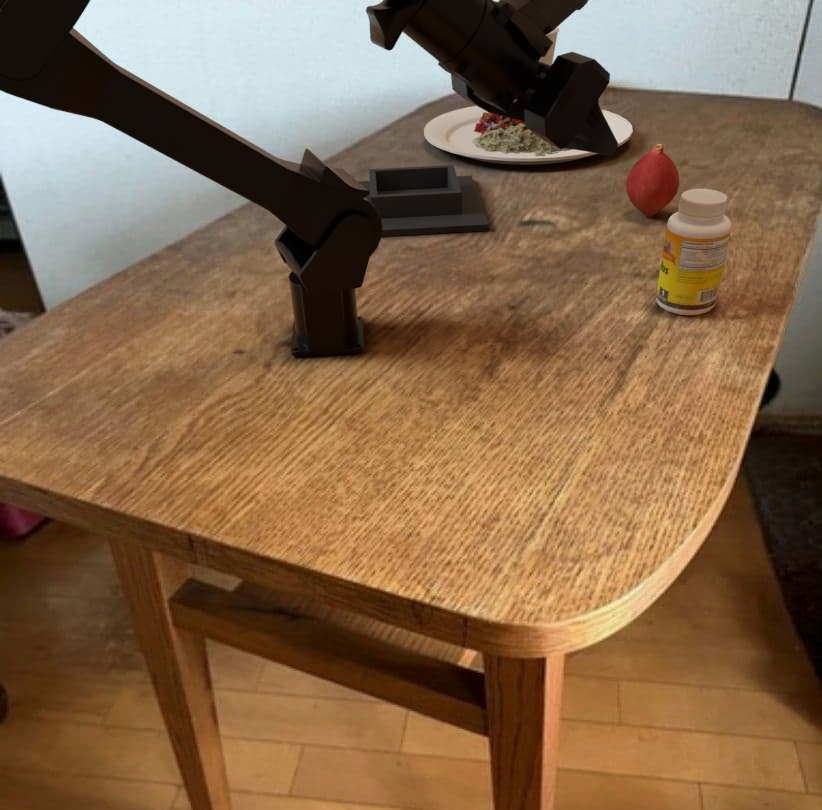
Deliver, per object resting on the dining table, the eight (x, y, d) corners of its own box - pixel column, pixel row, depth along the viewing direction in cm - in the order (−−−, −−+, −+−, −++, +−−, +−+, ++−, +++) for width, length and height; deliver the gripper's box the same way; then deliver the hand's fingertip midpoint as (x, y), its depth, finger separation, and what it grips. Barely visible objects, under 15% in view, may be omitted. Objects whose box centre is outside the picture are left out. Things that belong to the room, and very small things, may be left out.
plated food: (566, 187, 109) (568, 159, 107) (382, 152, 123) (381, 126, 121) (665, 130, 127) (669, 105, 125) (495, 105, 141) (496, 83, 139)
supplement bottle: (658, 289, 84) (676, 182, 78) (717, 296, 83) (739, 187, 76) (650, 313, 80) (668, 203, 74) (712, 321, 79) (735, 208, 72)
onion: (616, 220, 99) (625, 147, 94) (630, 205, 103) (639, 134, 98) (666, 227, 97) (677, 153, 92) (679, 211, 101) (691, 139, 96)
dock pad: (488, 231, 98) (489, 201, 96) (349, 238, 98) (347, 209, 96) (471, 181, 112) (471, 154, 110) (349, 187, 112) (347, 161, 109)
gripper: (585, -68, 57) (711, 70, 67) (468, -85, 71) (587, 32, 80) (490, 89, 61) (622, 199, 71) (396, 45, 75) (517, 142, 84)
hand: (586, 136), depth 76 cm, fingers open, 9 cm apart
